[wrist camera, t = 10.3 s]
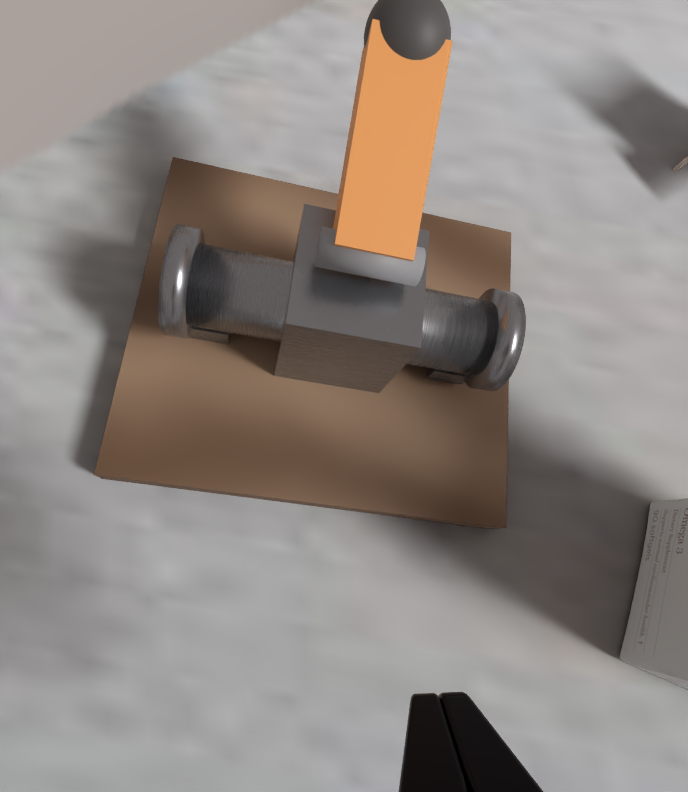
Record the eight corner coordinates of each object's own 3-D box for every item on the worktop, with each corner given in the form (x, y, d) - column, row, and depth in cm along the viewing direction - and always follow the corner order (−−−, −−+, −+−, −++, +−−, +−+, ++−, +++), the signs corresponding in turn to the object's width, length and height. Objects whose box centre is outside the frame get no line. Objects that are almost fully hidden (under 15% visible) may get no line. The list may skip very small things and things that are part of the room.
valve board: (492, 529, 23) (506, 527, 22) (102, 478, 20) (94, 474, 19) (499, 245, 27) (511, 232, 26) (175, 175, 24) (172, 157, 23)
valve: (473, 409, 23) (540, 369, 18) (166, 358, 21) (145, 298, 16) (476, 316, 24) (540, 255, 19) (188, 260, 22) (175, 175, 17)
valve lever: (428, 280, 15) (481, -21, 15) (319, 258, 15) (371, -54, 14) (405, 291, 18) (450, 35, 17) (311, 272, 17) (355, 8, 17)
